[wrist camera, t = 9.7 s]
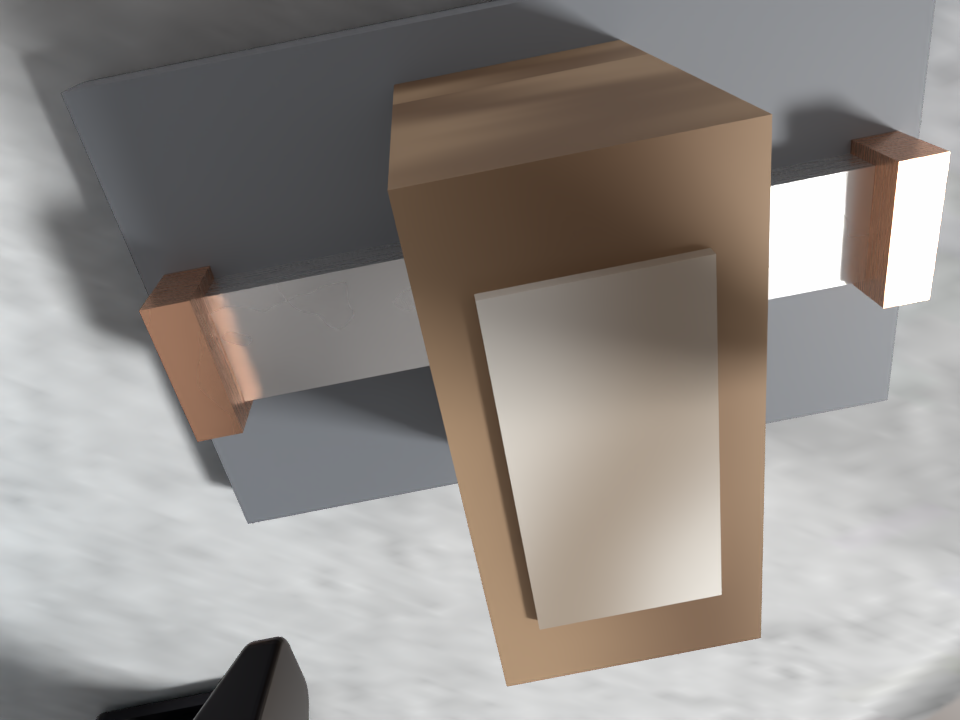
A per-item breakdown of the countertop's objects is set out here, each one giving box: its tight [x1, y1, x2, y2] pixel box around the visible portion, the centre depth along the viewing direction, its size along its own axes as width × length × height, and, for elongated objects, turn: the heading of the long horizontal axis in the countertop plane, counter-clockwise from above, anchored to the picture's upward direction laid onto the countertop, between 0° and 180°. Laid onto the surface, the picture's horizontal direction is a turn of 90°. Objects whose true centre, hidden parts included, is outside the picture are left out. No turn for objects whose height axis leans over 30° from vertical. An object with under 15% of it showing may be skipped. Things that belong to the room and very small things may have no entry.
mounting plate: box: [61, 0, 935, 524], centre depth 17 cm, size 17×11×1 cm, turn 100°
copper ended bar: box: [139, 131, 950, 442], centre depth 16 cm, size 16×3×2 cm, turn 100°
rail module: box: [388, 40, 772, 686], centre depth 14 cm, size 4×9×7 cm, turn 10°
